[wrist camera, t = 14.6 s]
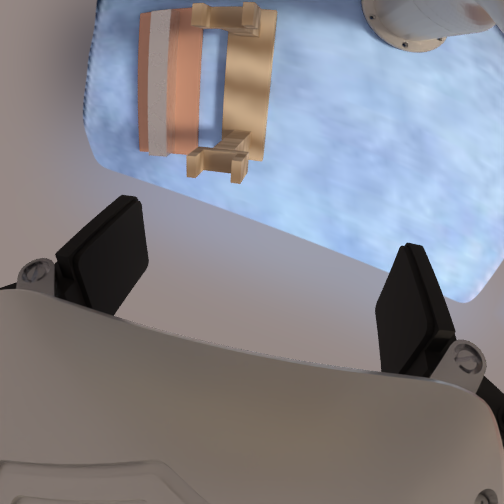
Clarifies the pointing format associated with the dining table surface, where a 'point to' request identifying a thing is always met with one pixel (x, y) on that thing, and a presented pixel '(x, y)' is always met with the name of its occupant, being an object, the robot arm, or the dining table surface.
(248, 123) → the hook stand
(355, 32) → the dining table surface
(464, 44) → the dining table surface
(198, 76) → the terracotta mat
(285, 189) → the dining table surface
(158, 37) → the steel bar
